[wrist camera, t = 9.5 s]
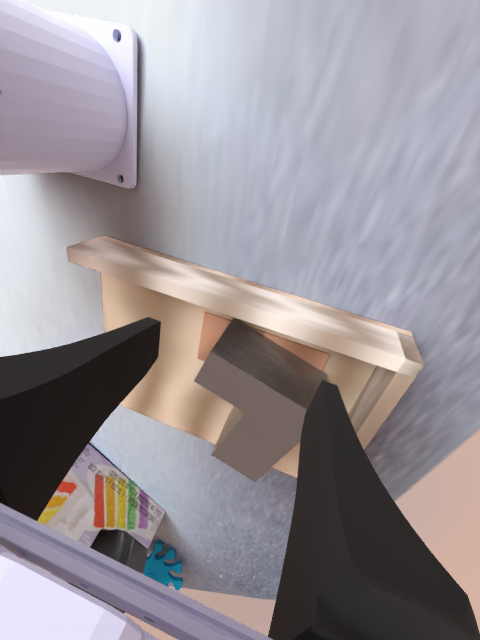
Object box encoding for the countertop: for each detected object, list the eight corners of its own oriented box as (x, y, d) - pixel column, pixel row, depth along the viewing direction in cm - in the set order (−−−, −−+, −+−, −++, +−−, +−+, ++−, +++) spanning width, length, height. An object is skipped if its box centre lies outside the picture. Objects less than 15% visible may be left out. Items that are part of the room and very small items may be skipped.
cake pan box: (174, 516, 41) (79, 718, 26) (153, 520, 44) (56, 705, 29) (74, 423, 37) (-103, 599, 22) (58, 433, 40) (-111, 597, 25)
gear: (196, 577, 45) (147, 637, 43) (197, 553, 51) (153, 605, 48) (145, 526, 45) (94, 583, 43) (152, 508, 51) (107, 557, 49)
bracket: (267, 435, 26) (255, 481, 22) (192, 389, 26) (167, 427, 23) (326, 374, 21) (323, 420, 18) (233, 317, 21) (210, 351, 18)
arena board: (112, 396, 32) (88, 421, 29) (103, 235, 22) (66, 247, 19) (317, 480, 28) (315, 518, 25) (410, 331, 19) (424, 364, 16)
